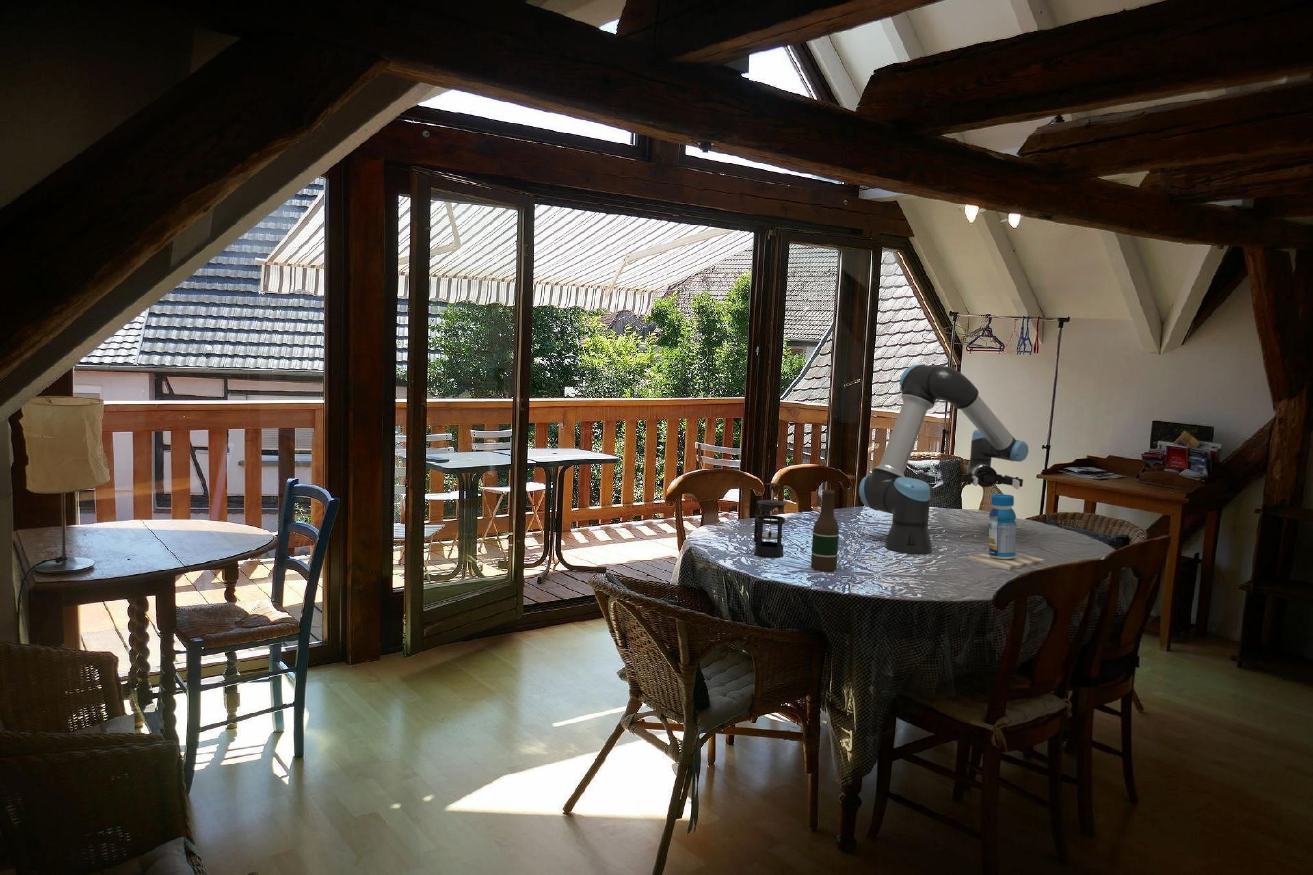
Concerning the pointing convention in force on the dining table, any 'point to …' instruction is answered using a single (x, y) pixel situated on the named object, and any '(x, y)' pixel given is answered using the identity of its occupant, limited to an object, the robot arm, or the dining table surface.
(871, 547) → the dining table surface
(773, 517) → the black lantern
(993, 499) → the beverage bottle
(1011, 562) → the birch board
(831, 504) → the beer bottle
